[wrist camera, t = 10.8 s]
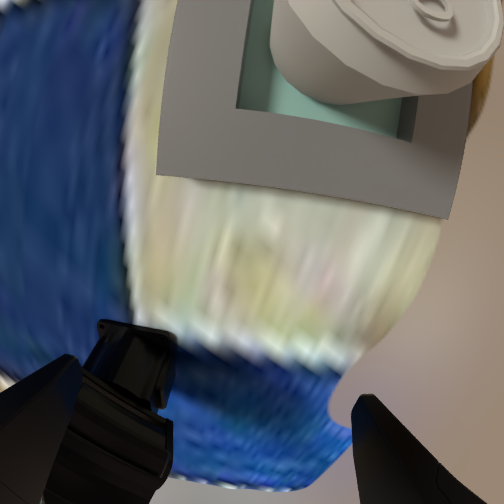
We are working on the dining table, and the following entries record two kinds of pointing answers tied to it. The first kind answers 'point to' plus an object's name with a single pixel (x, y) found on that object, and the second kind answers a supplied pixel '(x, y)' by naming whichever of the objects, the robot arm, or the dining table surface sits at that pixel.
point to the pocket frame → (297, 121)
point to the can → (382, 46)
